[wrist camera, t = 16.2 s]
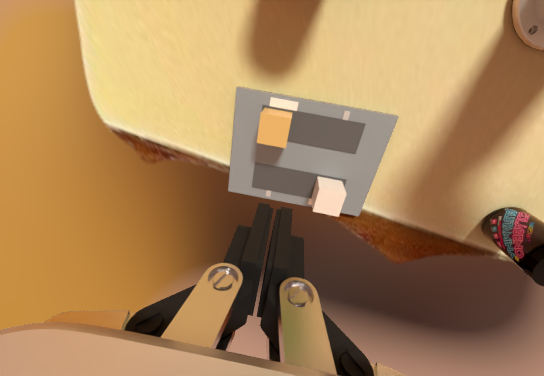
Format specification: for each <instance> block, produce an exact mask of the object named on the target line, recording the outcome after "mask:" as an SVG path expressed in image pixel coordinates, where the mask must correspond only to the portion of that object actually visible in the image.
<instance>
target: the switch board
mask: <svg viewBox="0 0 544 376" xmlns="http://www.w3.org/2000/svg"><path fill="white" fill-rule="evenodd" d="M265 108H270V109H276V110H281V111H287V112H292V113H293V114H292V119H291V124H290V129H289V134H288V139H287V145H286V148H281V147H276V146H271V145H265V144H260V143H257V137H258V130H259V122H260V115H261V112H262V111H263V110H264V109H265ZM397 119H398V116H396V115H392V114H387V113H381V112H376V111H370V110H365V109H359V108H354V107H348V106H343V105H337V104H332V103H326V102H321V101H315V100H310V99H304V98H299V97H293V96H288V95H282V94H277V93H272V92H266V91H261V90H255V89H250V88H244V87H237V89H236V101H235V114H234V126H233V138H232V151H231V163H230V175H229V189H228V191H230V192H235V193H241V194H246V195H251V196H256V197H261V198H266V199H271V200H277V201H282V202H287V203H292V204H297V205H302V206H307V207H312V194H313V191H314V187H315V183H316V180H317V176H319V177H324V178H329V179H334V180H340V181H342V182H343V185H344V188H345V191H346V197H345V200H344V203H343V206H342V209H341V212H340V213H344V214H349V215H354V216H359V214H360V212H361V209H362V207H363V204H364V202H365V199H366V197H367V194H368V192H369V189H370V187H371V184H372V182H373V179H374V177H375V174H376V172H377V169H378V167H379V164H380V162H381V159H382V157H383V154H384V152H385V149H386V147H387V144H388V142H389V139H390V137H391V134H392V132H393V129H394V127H395V124H396V122H397Z"/></svg>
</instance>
